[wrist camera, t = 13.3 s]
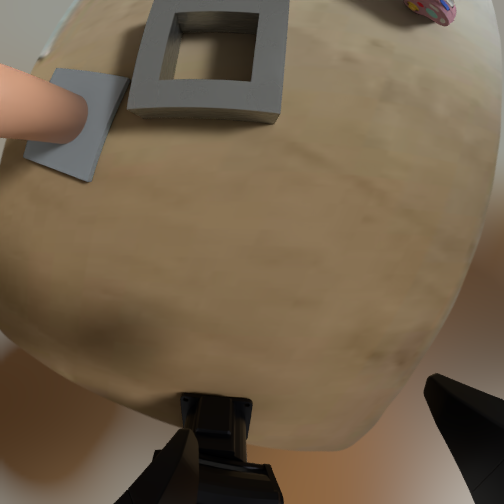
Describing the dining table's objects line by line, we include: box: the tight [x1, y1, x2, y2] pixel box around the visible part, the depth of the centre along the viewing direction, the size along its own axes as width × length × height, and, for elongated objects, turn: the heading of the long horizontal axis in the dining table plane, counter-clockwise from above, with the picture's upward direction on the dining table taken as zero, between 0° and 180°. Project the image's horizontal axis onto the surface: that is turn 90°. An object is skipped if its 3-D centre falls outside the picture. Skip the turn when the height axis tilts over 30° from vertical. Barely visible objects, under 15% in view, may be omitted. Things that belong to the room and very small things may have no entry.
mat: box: [23, 68, 131, 182], centre depth 15 cm, size 8×8×1 cm
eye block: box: [127, 0, 289, 124], centre depth 14 cm, size 9×9×3 cm
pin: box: [0, 63, 88, 144], centre depth 9 cm, size 4×4×12 cm
